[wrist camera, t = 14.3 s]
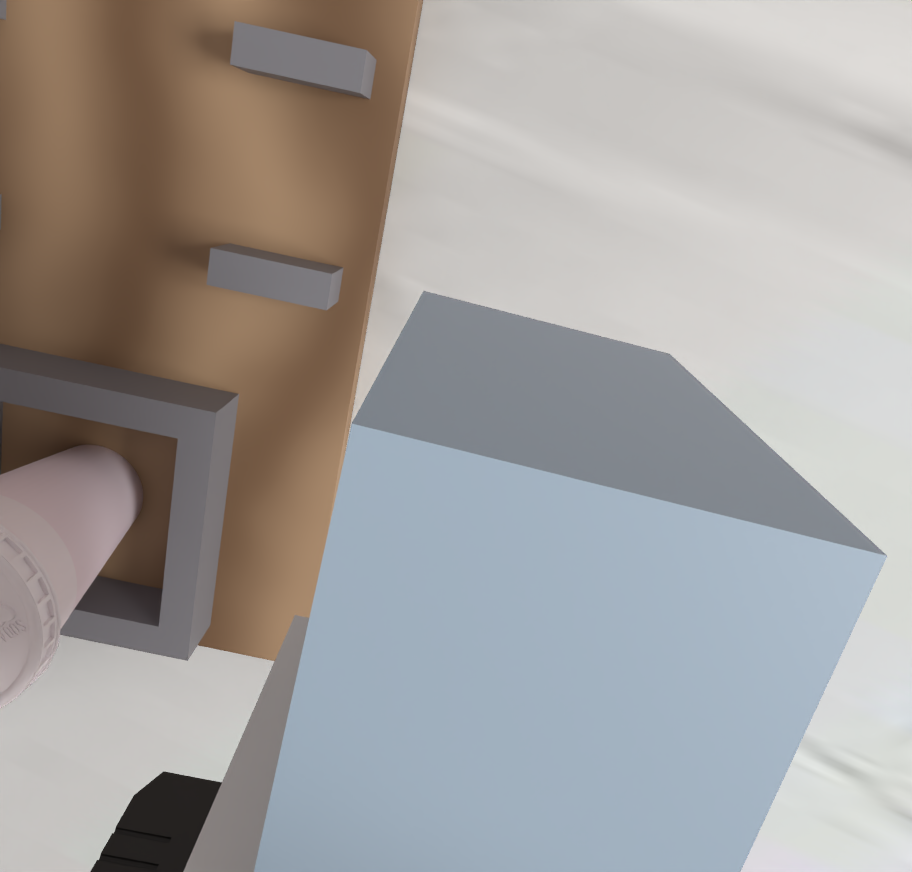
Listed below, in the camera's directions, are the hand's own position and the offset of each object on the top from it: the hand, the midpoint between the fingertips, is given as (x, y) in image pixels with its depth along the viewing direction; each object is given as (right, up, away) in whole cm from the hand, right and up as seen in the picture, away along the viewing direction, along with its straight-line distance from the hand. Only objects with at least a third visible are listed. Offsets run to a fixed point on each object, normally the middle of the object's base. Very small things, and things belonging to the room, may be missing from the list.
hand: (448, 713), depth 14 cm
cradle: (-14, +3, +16) cm, 21 cm away
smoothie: (-14, +3, +16) cm, 22 cm away
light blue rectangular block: (0, +1, +2) cm, 2 cm away
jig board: (-12, +11, +15) cm, 22 cm away
